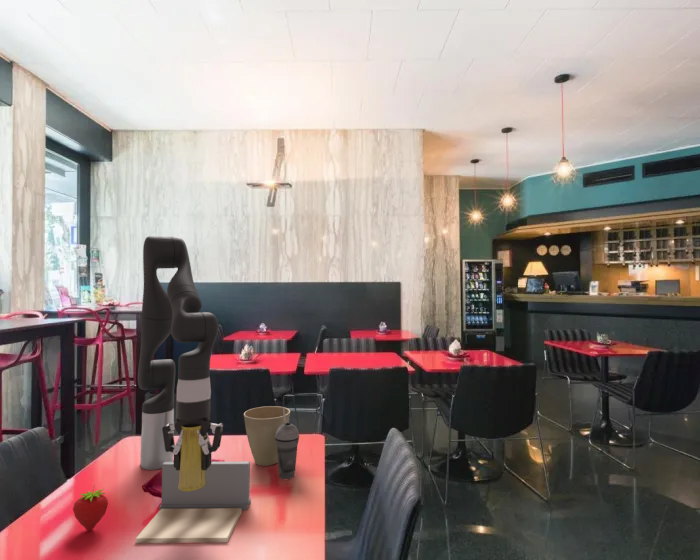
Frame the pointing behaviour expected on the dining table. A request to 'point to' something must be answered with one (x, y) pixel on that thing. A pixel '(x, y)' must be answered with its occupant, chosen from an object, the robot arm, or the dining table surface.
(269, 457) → the plant pot
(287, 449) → the beverage cup
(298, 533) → the dining table surface
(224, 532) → the board
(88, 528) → the strawberry
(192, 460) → the vase
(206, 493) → the screen
